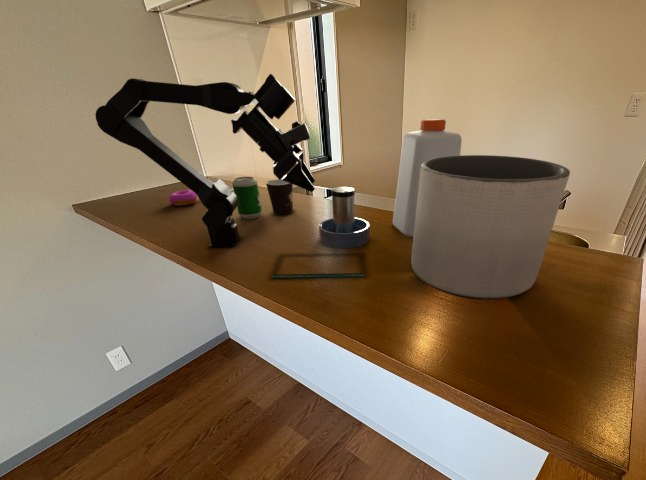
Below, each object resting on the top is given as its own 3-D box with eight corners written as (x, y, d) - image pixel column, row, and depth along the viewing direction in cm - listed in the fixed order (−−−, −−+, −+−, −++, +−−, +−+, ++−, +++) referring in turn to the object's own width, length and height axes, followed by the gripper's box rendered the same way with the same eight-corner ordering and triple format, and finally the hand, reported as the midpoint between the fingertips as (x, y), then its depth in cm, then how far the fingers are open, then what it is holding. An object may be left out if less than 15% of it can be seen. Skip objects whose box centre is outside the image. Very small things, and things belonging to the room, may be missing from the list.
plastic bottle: (408, 241, 85) (418, 122, 70) (388, 223, 98) (393, 118, 83) (458, 235, 89) (478, 120, 74) (432, 218, 101) (445, 117, 86)
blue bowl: (318, 251, 81) (317, 234, 79) (322, 232, 92) (321, 217, 90) (370, 250, 81) (370, 233, 79) (367, 231, 92) (367, 216, 90)
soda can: (259, 219, 103) (252, 181, 96) (236, 220, 103) (227, 181, 97) (265, 212, 109) (259, 175, 103) (243, 212, 109) (236, 176, 103)
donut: (182, 199, 125) (178, 187, 123) (206, 200, 124) (203, 188, 122) (165, 207, 117) (161, 194, 114) (191, 207, 115) (187, 195, 113)
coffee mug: (282, 217, 104) (278, 186, 99) (265, 213, 109) (260, 182, 103) (307, 209, 112) (304, 179, 107) (290, 205, 116) (286, 176, 111)
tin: (333, 243, 84) (330, 192, 77) (334, 235, 89) (331, 186, 82) (355, 242, 84) (354, 192, 77) (355, 234, 89) (354, 186, 82)
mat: (271, 279, 69) (271, 277, 69) (281, 255, 79) (281, 254, 79) (364, 277, 69) (364, 275, 69) (362, 254, 79) (362, 252, 79)
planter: (411, 247, 82) (419, 154, 70) (515, 252, 78) (543, 155, 66) (409, 299, 61) (420, 179, 49) (552, 310, 57) (602, 182, 45)
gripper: (285, 109, 63) (338, 170, 70) (292, 107, 79) (335, 157, 86) (249, 150, 67) (303, 204, 74) (262, 140, 83) (306, 186, 90)
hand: (313, 186), depth 81 cm, fingers open, 9 cm apart
